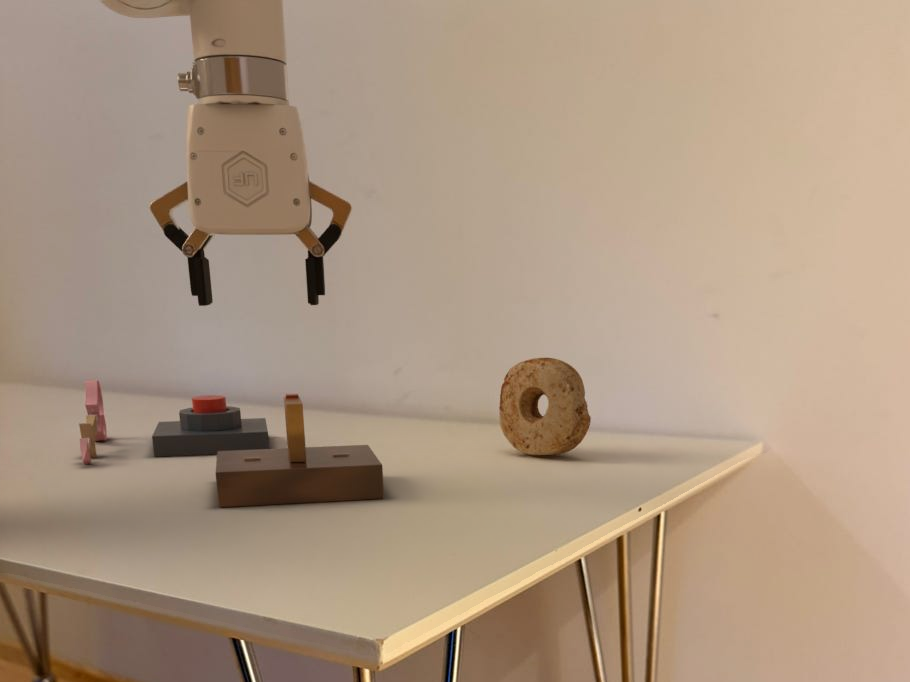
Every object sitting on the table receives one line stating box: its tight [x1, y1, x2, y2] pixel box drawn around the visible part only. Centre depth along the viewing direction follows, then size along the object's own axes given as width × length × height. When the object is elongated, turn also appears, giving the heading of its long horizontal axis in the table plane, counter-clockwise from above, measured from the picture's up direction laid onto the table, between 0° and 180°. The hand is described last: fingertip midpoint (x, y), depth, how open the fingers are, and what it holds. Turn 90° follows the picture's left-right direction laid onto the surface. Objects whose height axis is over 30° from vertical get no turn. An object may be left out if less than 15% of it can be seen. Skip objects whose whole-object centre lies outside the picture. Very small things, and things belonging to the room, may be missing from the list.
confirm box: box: [151, 405, 270, 458], centre depth 109 cm, size 12×10×4 cm
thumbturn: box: [283, 393, 307, 462], centre depth 87 cm, size 5×1×5 cm, turn 13°
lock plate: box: [215, 444, 385, 508], centre depth 88 cm, size 14×10×3 cm
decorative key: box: [78, 379, 108, 465], centre depth 106 cm, size 7×1×20 cm
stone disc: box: [498, 357, 592, 456], centre depth 103 cm, size 10×4×10 cm, turn 52°
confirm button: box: [191, 394, 227, 413], centre depth 108 cm, size 4×4×2 cm
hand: (259, 304), depth 89 cm, fingers open, 9 cm apart
